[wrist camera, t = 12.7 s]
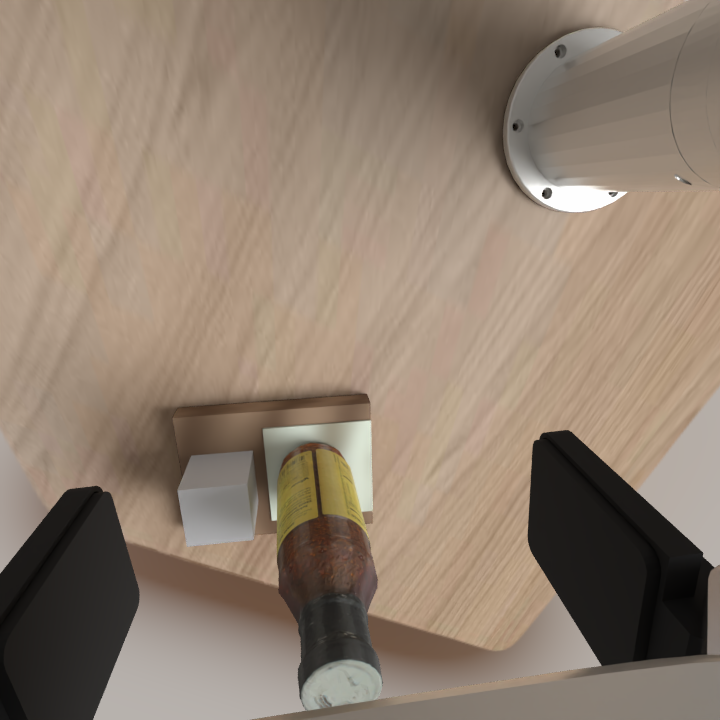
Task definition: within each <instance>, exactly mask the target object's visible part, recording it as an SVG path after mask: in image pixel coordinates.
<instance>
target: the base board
mask: <svg viewBox="0 0 720 720" xmlns="http://www.w3.org/2000/svg"><path fill="white" fill-rule="evenodd" d="M172 420H173V426H174V432H175V438H176V444H177V450H178V456H179V462H180V467H181V473H182V477H183V475H184V472H185V470H186V467H187V465H188V462H189V460H190V457H191V456H193V455H205V454H217V453H229V452H241V451H253V457H254V466H255V475H256V484H257V493H258V509H257V517H256V525H255V533H254V535H263V534H273V533H277V481H278V477H279V472H280V468H281V465H282V462H283V460H284V458H285V457H286V456H287V455H288V454H289V453H290V452H291V451H293V450H295V449H296V448H297V447H299V446H301V445H304V444H308V443H320V444H325V445H329V446H331V447H334V448H336V449H337V450H339V451H340V453H341V454H342V456H343V457H344V458H345V460H346V462H347V463H348V465H349V466H350V468H351V472H352V475H353V479H354V483H355V487H356V491H357V495H358V499H359V503H360V507H361V511H362V515H363V518H364V522H365V524H370V523H373V513H372V511H373V498H372V447H371V413H370V401H369V398H368V396H367V394H361V395H348V396H334V397H320V398H306V399H293V400H279V401H265V402H252V403H238V404H224V405H210V406H197V407H183V408H178V409H177V411H176V412H175V414H174V416H173V418H172Z"/></svg>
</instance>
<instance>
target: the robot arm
mask: <svg viewBox="0 0 720 720" xmlns="http://www.w3.org/2000/svg"><path fill="white" fill-rule="evenodd" d="M555 51H556V52H557V57H556V56H555ZM513 124H515V125H516V129H515V131H514V130H513V127H512V126H513ZM503 145H504V152H505V157H506V161H507V165H508V167H509V169H510V172H511V174H512V176H513V178H514V180H515V181H516V183H517V184H518V186H519V187H520V188H521V190H522V191H523V192H524V193H525V194H526V195H527V196H528V197H529V198H531V199H532V200H533V201H534V202H536V203H538V204H540V205H541V206H543V207H545V208H548V209H551V210H555V211H558V212H567V213H581V212H588V211H593V210H597V209H600V208H602V207H604V206H607V205H609V204H611V203H613V202H615V201H616V200H617V199H619V198H620V197H622V196H623V195H625V194H626V193H627V192H676V191H720V0H688V1H686V2H684V3H682V4H680V5H678V6H676V7H674V8H672V9H670V10H668V11H666V12H664V13H662V14H660V15H658V16H656V17H654V18H652V19H650V20H648V21H646V22H644V23H642V24H640V25H638V26H635V27H633V28H631V29H629V30H627V31H625V32H621V31H618V30H616V29H610V28H603V27H595V28H585V29H581V30H578V31H575V32H572V33H569V34H567V35H565V36H563V37H561V38H559V39H558V40H556V41H554V42H553V43H551V44H550V45H548V46H547V47H546V48H544V49H543V50H542V51H540V52H539V53H538V54H537V55H536V56H535V57H534V58H533V59H532V60H531V61H530V63H529V64H528V65H527V66H526V67H525V69H524V70H523V72H522V73H521V75H520V76H519V78H518V79H517V81H516V83H515V86H514V88H513V90H512V92H511V94H510V97H509V100H508V104H507V107H506V111H505V115H504V124H503ZM542 191H544V195H543V196H542ZM608 192H609V193H608ZM528 543H529V547H530V550H531V552H532V554H533V556H534V557H535V559H536V560H537V562H538V564H539V565H540V567H541V569H542V570H543V572H544V573H545V575H546V577H547V578H548V580H549V581H550V583H551V585H552V586H553V588H554V589H555V591H556V593H557V594H558V596H559V597H560V599H561V601H562V602H563V604H564V606H565V607H566V609H567V610H568V612H569V614H570V615H571V617H572V618H573V620H574V622H575V623H576V625H577V626H578V628H579V630H580V631H581V633H582V635H583V636H584V638H585V639H586V641H587V643H588V644H589V646H590V647H591V649H592V651H593V652H594V654H595V655H596V657H597V659H598V660H599V662H600V663H601V665H602V666H599V667H591V668H584V669H577V670H569V671H562V672H555V673H549V674H542V675H536V676H529V677H522V678H516V679H509V680H502V681H496V682H489V683H483V684H476V685H469V686H463V687H457V688H450V689H443V690H437V691H430V692H423V693H417V694H411V695H404V696H398V697H391V698H385V699H379V700H372V701H366V702H359V703H353V704H346V705H340V706H334V707H328V708H321V709H315V710H309V711H302V712H296V713H290V714H284V715H277V716H271V717H265V718H259V719H252V720H720V565H718V566H717V567H715V568H714V567H713V566H712V565H711V564H710V563H709V562H708V561H707V560H706V559H704V558H703V552H702V551H700V549H698V548H697V547H696V546H695V545H694V544H693V543H692V542H691V541H690V540H689V539H688V538H687V537H685V536H684V535H683V534H682V533H681V532H680V531H679V530H678V529H677V528H676V527H674V526H673V525H672V524H671V523H670V522H669V521H668V520H667V519H666V518H665V517H664V516H662V515H661V514H660V513H659V512H658V511H657V510H656V509H655V508H654V507H653V506H652V505H650V504H649V503H648V502H647V501H646V500H645V499H644V498H643V497H642V496H641V495H640V494H638V493H637V492H636V491H635V490H634V489H633V488H632V487H631V486H630V485H629V484H628V483H626V482H625V481H624V480H623V479H622V478H621V477H620V476H619V475H618V474H617V473H616V472H614V471H613V470H612V469H611V468H610V467H609V466H608V465H607V464H606V463H605V462H604V461H602V460H601V459H600V458H599V457H598V456H597V455H596V454H595V453H594V452H593V451H591V450H590V449H589V448H588V447H587V446H586V445H585V444H584V443H583V442H582V441H581V440H579V439H578V438H577V437H576V436H575V435H574V434H573V433H572V432H570V431H569V430H564V431H555V432H547V433H543V434H541V436H540V440H536V441H534V443H533V452H532V469H531V487H530V505H529V522H528ZM138 604H139V588H138V584H137V581H136V578H135V574H134V570H133V567H132V564H131V560H130V557H129V554H128V550H127V547H126V543H125V540H124V536H123V533H122V529H121V526H120V523H119V519H118V516H117V512H116V509H115V506H114V502H113V499H112V496H111V494H110V493H109V492H103V490H102V489H101V488H100V487H98V486H92V487H84V488H75V489H69V490H67V491H66V492H65V493H64V494H63V495H62V497H61V498H60V499H59V500H58V502H57V503H56V504H55V505H54V507H53V508H52V509H51V510H50V512H49V513H48V514H47V516H46V517H45V518H44V519H43V521H42V522H41V523H40V524H39V526H38V527H37V528H36V530H35V531H34V532H33V533H32V535H31V536H30V537H29V538H28V539H27V541H26V542H25V543H24V545H23V546H22V547H21V548H20V550H19V551H18V552H17V553H16V555H15V556H14V557H13V558H12V560H11V561H10V562H9V564H8V565H7V566H6V567H5V569H4V570H3V571H2V572H1V573H0V720H93V718H94V715H95V713H96V710H97V708H98V705H99V703H100V700H101V698H102V696H103V693H104V691H105V688H106V686H107V683H108V680H109V678H110V675H111V673H112V671H113V668H114V665H115V663H116V661H117V658H118V656H119V653H120V651H121V648H122V645H123V643H124V641H125V638H126V636H127V633H128V631H129V628H130V626H131V623H132V621H133V618H134V616H135V613H136V611H137V608H138Z"/></svg>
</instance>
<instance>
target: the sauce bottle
mask: <svg viewBox="0 0 720 720" xmlns="http://www.w3.org/2000/svg"><path fill="white" fill-rule="evenodd" d="M277 565H278V569H279V589H278V590H279V594H280V595H281V597H282V598H283V599H284V600H285V602H286V604H287V605H288V607H289V608H290V610H291V612H292V614H293V616H294V617H295V619H296V621H297V623H298V625H299V629H298V631H299V635H300V637H301V663H300V665H299V668H298V681H299V691H300V699H301V701H302V704H303V706H304V707H305V709H306V710H307V711H309V710H315V709H321V708H328V707H334V706H340V705H346V704H353V703H359V702H366V701H372V700H376V699H377V698H378V696H379V695H380V692H381V688H382V684H383V682H382V676H381V670H380V664H379V659H378V656H377V654H376V652H375V651H374V649H373V648H372V644H371V639H370V634H369V630H368V616H367V612H368V609H369V606H370V603H371V601H372V599H373V596H374V594H375V591H376V589H377V581H378V579H377V575H376V571H375V567H374V562H373V557H372V555H371V547H370V541H369V537H368V533H367V529H366V526H365V522H364V518H363V515H362V511H361V507H360V503H359V499H358V495H357V491H356V487H355V483H354V479H353V475H352V472H351V468H350V466H349V465H348V463H347V462H346V460H345V458H344V457H343V456H342V454H341V453H340V451H339V450H337V449H336V448H334V447H331V446H329V445H325V444H320V443H308V444H304V445H301V446H299V447H297V448H296V449H295V450H293V451H291V452H290V453H289V454H288V455H287V456H286V457H285V458H284V460H283V462H282V465H281V468H280V472H279V477H278V481H277Z"/></svg>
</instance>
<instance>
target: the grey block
mask: <svg viewBox="0 0 720 720" xmlns="http://www.w3.org/2000/svg"><path fill="white" fill-rule="evenodd" d="M177 492H178V497H179V503H180V509H181V515H182V521H183V526H184V532H185V538H186V544H187V547H189V546H199V545H208V544H218V543H228V542H237V541H247V540H254V533H255V525H256V517H257V509H258V493H257V484H256V475H255V466H254V457H253V451H241V452H229V453H217V454H205V455H193V456H191V457H190V460H189V462H188V465H187V467H186V470H185V472H184V475H183V477H182V480H181V482H180V485H179V487H178V490H177Z"/></svg>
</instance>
